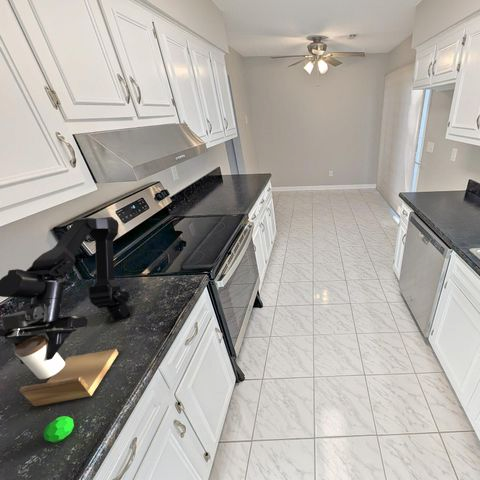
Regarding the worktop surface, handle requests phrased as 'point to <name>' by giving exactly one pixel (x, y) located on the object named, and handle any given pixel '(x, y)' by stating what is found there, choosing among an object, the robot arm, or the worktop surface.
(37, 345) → the cylinder
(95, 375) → the wooden ramp
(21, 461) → the worktop surface
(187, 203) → the worktop surface
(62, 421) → the polyhedron
